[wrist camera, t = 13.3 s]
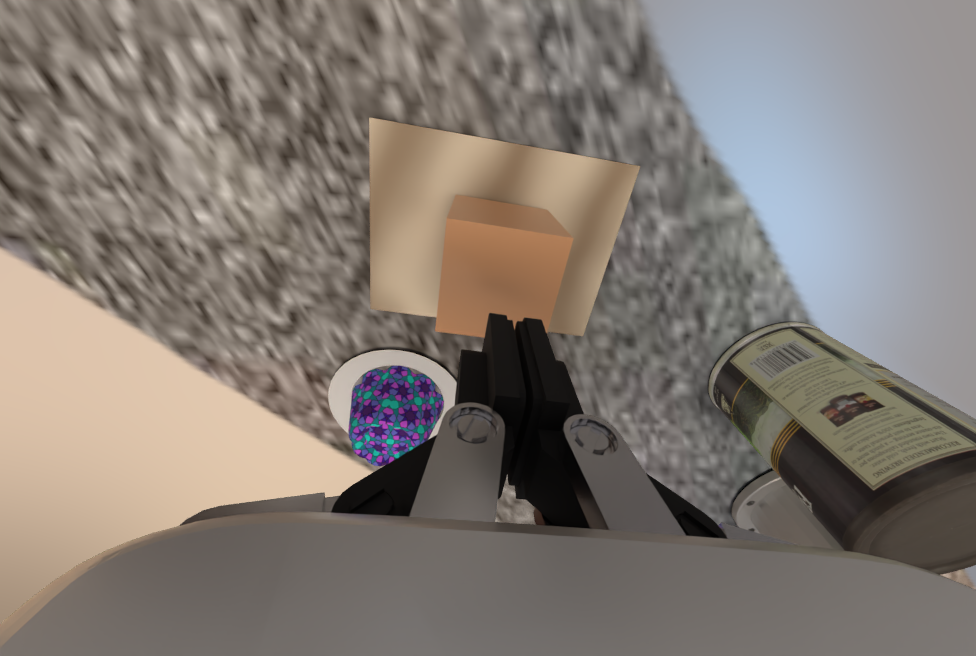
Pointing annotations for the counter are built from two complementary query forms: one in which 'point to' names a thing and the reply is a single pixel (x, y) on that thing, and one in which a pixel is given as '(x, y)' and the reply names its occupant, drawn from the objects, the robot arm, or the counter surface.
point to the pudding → (390, 403)
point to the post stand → (491, 176)
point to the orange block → (499, 265)
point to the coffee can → (856, 444)
